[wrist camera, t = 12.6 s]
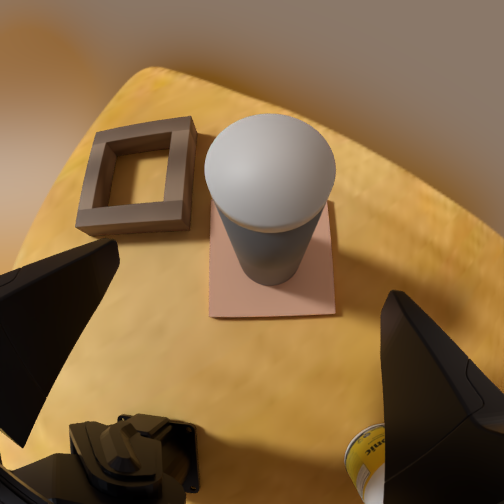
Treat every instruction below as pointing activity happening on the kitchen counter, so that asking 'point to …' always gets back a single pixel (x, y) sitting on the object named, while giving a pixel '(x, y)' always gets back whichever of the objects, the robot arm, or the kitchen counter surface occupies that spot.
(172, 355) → the kitchen counter surface
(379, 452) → the supplement bottle
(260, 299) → the terracotta tile
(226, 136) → the grey cylinder
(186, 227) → the walnut collar
